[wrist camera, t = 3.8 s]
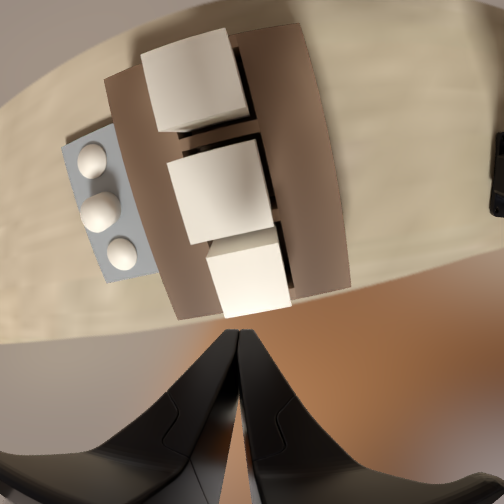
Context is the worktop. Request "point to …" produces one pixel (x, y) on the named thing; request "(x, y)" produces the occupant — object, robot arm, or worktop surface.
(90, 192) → the card
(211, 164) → the button middle
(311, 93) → the board
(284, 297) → the button
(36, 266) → the worktop surface
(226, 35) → the button
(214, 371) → the robot arm
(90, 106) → the worktop surface
